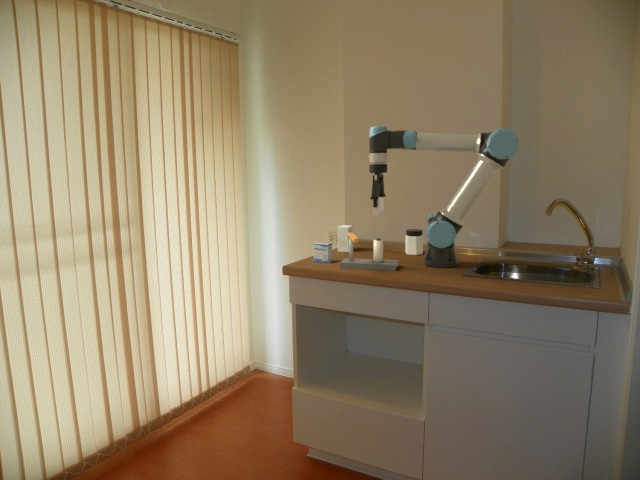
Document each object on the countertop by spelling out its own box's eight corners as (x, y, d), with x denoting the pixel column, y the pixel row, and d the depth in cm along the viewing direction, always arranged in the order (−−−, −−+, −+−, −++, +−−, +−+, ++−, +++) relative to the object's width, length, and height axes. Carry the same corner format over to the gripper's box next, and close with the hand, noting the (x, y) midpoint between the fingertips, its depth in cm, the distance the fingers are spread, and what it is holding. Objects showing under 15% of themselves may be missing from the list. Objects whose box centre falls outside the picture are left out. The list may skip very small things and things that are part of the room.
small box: (341, 248, 265) (341, 224, 262) (353, 249, 262) (353, 225, 260) (337, 251, 257) (336, 226, 255) (348, 252, 255) (348, 227, 253)
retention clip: (359, 242, 201) (359, 238, 200) (352, 242, 200) (352, 238, 200) (353, 236, 218) (353, 232, 218) (347, 236, 218) (347, 232, 217)
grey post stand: (397, 266, 218) (398, 236, 216) (395, 271, 208) (395, 240, 206) (345, 264, 224) (344, 235, 222) (340, 269, 215) (339, 238, 213)
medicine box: (313, 261, 232) (312, 243, 231) (317, 259, 236) (317, 242, 235) (328, 263, 229) (327, 244, 227) (332, 261, 233) (332, 243, 231)
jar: (413, 255, 242) (413, 231, 240) (401, 253, 249) (402, 230, 247) (426, 253, 247) (426, 230, 245) (414, 251, 254) (415, 228, 252)
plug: (383, 266, 217) (383, 237, 215) (382, 268, 213) (382, 239, 211) (374, 266, 218) (374, 237, 216) (372, 268, 214) (372, 239, 212)
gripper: (374, 163, 221) (374, 210, 224) (364, 163, 197) (364, 216, 200) (391, 163, 219) (390, 210, 222) (382, 163, 195) (382, 216, 198)
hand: (378, 213), depth 211 cm, fingers open, 13 cm apart
